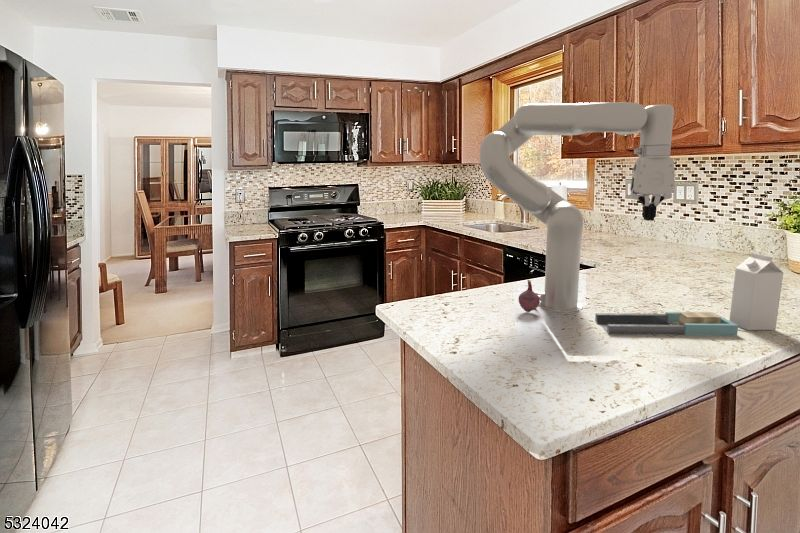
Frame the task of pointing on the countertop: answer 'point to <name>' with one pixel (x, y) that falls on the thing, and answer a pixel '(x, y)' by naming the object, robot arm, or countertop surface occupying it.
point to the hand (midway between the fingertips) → (648, 220)
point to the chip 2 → (711, 318)
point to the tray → (705, 326)
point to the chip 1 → (691, 318)
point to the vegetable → (529, 299)
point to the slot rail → (638, 324)
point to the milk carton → (756, 293)
